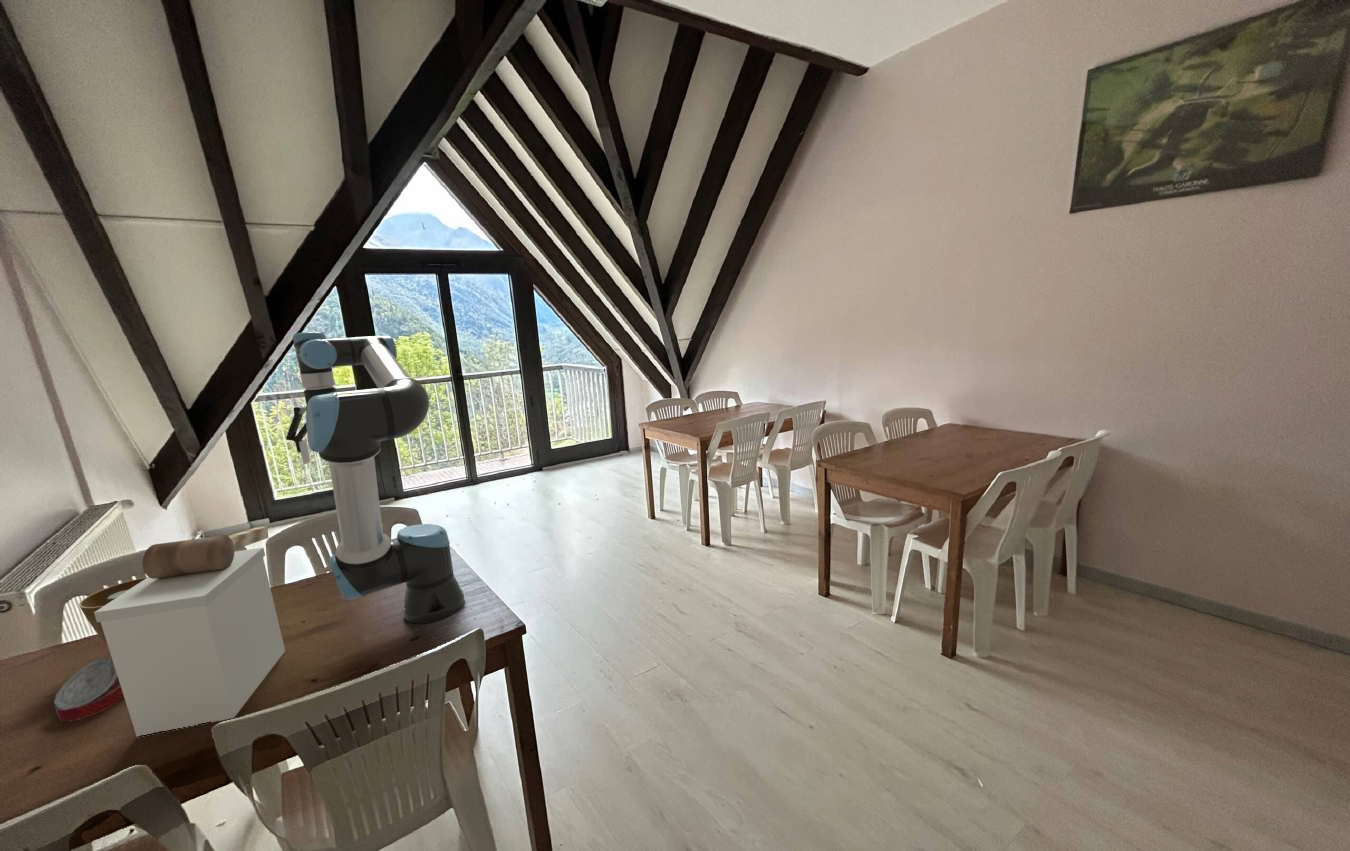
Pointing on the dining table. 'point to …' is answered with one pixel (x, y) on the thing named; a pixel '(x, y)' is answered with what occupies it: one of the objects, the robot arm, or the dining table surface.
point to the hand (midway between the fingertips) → (333, 460)
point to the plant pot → (103, 603)
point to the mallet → (197, 554)
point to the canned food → (89, 690)
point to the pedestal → (193, 643)
